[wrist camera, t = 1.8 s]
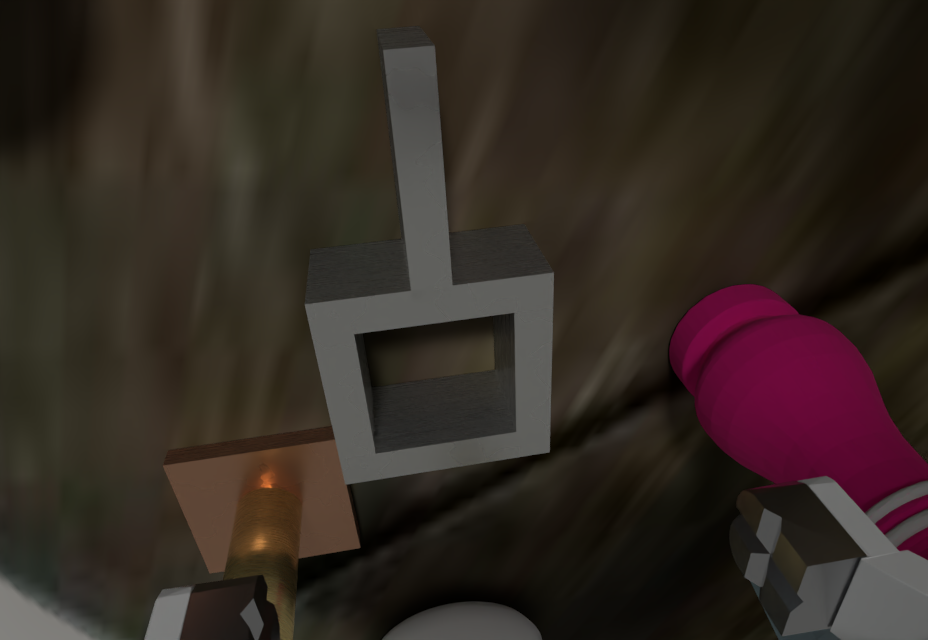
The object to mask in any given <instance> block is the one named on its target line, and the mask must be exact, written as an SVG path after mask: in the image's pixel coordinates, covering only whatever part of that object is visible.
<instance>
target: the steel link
mask: <svg viewBox="0 0 928 640" xmlns="http://www.w3.org/2000/svg"><path fill="white" fill-rule="evenodd" d="M377 38H378V46H379V54H380V63H381V71H382V79H383V88H384V96H385V104H386V113H387V121H388V129H389V138H390V146H391V154H392V163H393V171H394V180H395V188H396V196H397V205H398V213H399V221H400V230H401V238H402V239H396V240H388V241H379V242H371V243H362V244H354V245H346V246H337V247H329V248H320V249H312V250H311V252H310V261H309V270H308V279H307V288H306V298H305V308H306V312H307V317H308V321H309V326H310V330H311V334H312V339H313V343H314V348H315V352H316V357H317V361H318V366H319V370H320V375H321V379H322V383H323V388H324V392H325V397H326V401H327V406H328V410H329V415H330V419H331V424H332V428H333V432H334V437H335V441H336V446H337V450H338V455H339V459H340V464H341V468H342V473H343V477H344V481H345V485H346V484H353V483H359V482H365V481H372V480H378V479H384V478H391V477H397V476H403V475H409V474H416V473H422V472H428V471H435V470H441V469H447V468H453V467H460V466H466V465H472V464H479V463H485V462H491V461H497V460H504V459H510V458H516V457H523V456H529V455H535V454H541V453H548V452H550V416H551V374H552V332H553V290H554V272H553V270H552V269H551V267H550V265H549V264H548V262H547V260H546V259H545V257H544V256H543V254H542V252H541V251H540V249H539V247H538V246H537V244H536V242H535V241H534V239H533V238H532V236H531V234H530V233H529V231H528V229H527V228H526V226H525V225H524V224H522V225H514V226H505V227H497V228H489V229H480V230H472V231H463V232H455V233H449V230H448V217H447V204H446V190H445V177H444V164H443V150H442V137H441V124H440V111H439V97H438V84H437V71H436V57H435V45H434V44H433V43H432V42H431V40H430V39H429V38H428V36H427V35H426V34H425V33H424V31H423V30H422V29H421V28H420V26H413V27H401V28H389V29H377ZM486 316H493V329H494V357H495V370H492V371H485V372H478V373H471V374H464V375H457V376H450V377H443V378H436V379H429V380H422V381H415V382H408V383H401V384H394V385H387V386H380V387H373V388H372V386H371V380H370V374H369V368H368V362H367V357H366V351H365V345H364V339H363V333H367V332H374V331H382V330H389V329H397V328H404V327H412V326H419V325H427V324H434V323H442V322H449V321H457V320H464V319H471V318H479V317H486Z"/></svg>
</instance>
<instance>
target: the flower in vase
mask: <svg viewBox="0 0 928 640" xmlns="http://www.w3.org/2000/svg"><path fill="white" fill-rule="evenodd" d="M382 640H542V637H541V634H540V632H539V630H538V629H537V627H536V626H535V625H534V624H533V623H532V622H531V621H530V620H529V619H528V618H526V617H525V616H524V615H523V614H521V613H520V612H518V611H516V610H514V609H513V608H510V607H507V606H505V605H501V604H497V603H491V602H479V601H469V602H457V603H450V604H446V605H441V606H437V607H434V608H431V609H428V610H425V611H422V612H420V613H417V614H415V615H413V616H411V617H409V618H407V619H406V620H404V621H403V622H401V623H399V624H398V625H397V626H395V627H394V628H393V629H391V630H390V631H389V632H388V633H387V634H386V635H385V636H384V637H383V639H382Z"/></svg>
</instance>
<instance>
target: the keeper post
mask: <svg viewBox="0 0 928 640" xmlns="http://www.w3.org/2000/svg"><path fill="white" fill-rule="evenodd" d="M163 467H164V469H165V472H166V474H167V476H168V479H169V481H170V483H171V485H172V488H173V490H174V492H175V495H176V497H177V499H178V501H179V504H180V506H181V508H182V511H183V513H184V515H185V517H186V520H187V522H188V524H189V527H190V529H191V531H192V534H193V536H194V538H195V540H196V543H197V545H198V547H199V550H200V552H201V554H202V556H203V559H204V561H205V563H206V566H207V568H208V570H209V572H210V573H216V572H222V571H225V572H224V577H223V580H228V579H235V578H242V577H249V576H255V575H262V574H263V576H264V579H265V581H266V584H267V586H268V591H267V601H269V602H271V603H273V604H274V605H275V608H276V611H277V615H278V620H279V626H280V640H293V629H294V616H295V602H296V589H297V575H298V562H299V558H304V557H310V556H316V555H322V554H328V553H334V552H340V551H345V550H351V549H357V548H361V546H360V530H359V526H358V521H357V516H356V512H355V507H354V503H353V498H352V494H351V489H350V484H346V485H345V481H344V477H343V473H342V468H341V464H340V459H339V455H338V450H337V446H336V441H335V437H334V432H333V428H332V426H330V427H324V428H317V429H310V430H304V431H297V432H290V433H283V434H277V435H270V436H263V437H257V438H250V439H243V440H236V441H230V442H223V443H216V444H210V445H203V446H196V447H189V448H183V449H176V450H169V451H168V452H167V455H166V458H165V461H164V464H163Z"/></svg>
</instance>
